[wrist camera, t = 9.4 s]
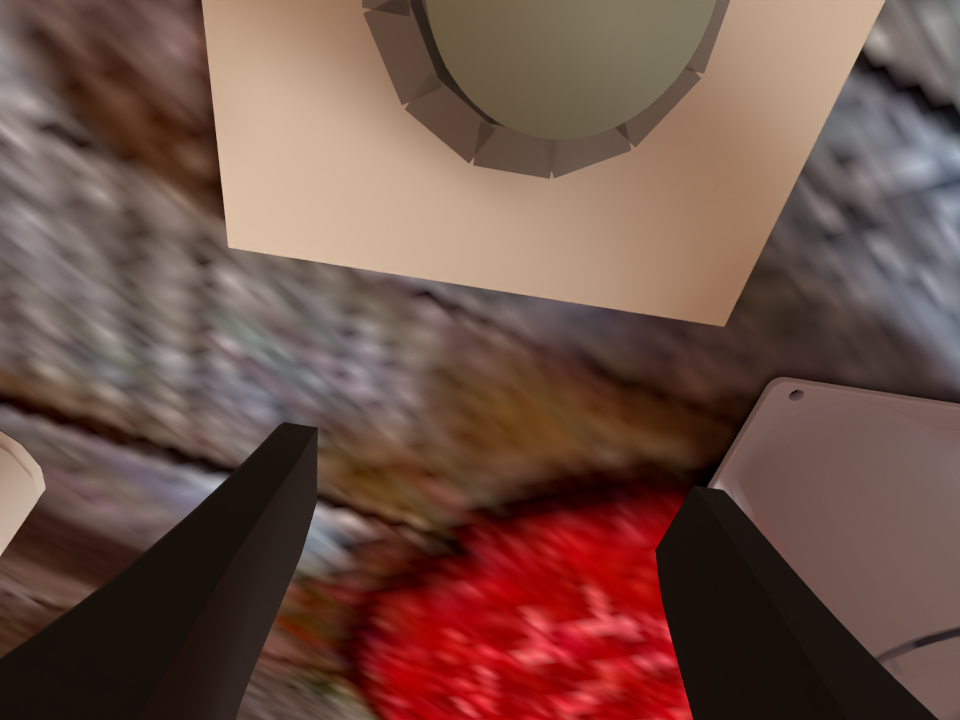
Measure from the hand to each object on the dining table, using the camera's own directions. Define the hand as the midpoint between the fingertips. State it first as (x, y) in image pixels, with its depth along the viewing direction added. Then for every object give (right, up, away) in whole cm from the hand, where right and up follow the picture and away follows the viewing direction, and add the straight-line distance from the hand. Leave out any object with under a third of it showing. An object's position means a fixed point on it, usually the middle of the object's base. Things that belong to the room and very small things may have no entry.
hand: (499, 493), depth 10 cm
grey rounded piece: (+1, +11, +2) cm, 12 cm away
